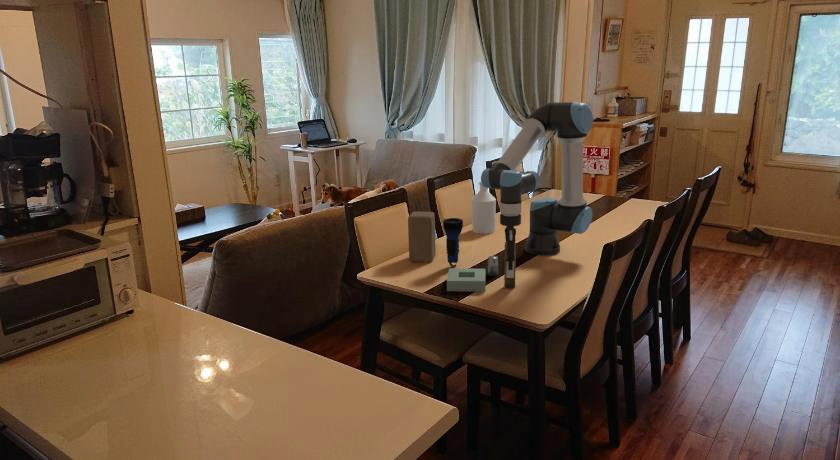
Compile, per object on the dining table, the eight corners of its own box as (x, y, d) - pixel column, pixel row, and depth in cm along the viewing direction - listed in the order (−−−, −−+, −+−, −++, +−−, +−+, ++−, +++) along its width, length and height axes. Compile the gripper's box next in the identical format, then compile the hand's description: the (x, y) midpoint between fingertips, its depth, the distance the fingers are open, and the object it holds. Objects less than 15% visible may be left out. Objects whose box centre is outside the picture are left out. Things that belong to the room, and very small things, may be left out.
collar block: (485, 278, 230) (485, 268, 229) (485, 291, 216) (485, 281, 215) (449, 278, 231) (449, 268, 230) (447, 291, 218) (446, 280, 217)
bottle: (479, 226, 305) (479, 178, 299) (500, 229, 298) (500, 180, 292) (467, 232, 296) (467, 182, 289) (488, 235, 289) (488, 184, 283)
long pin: (514, 285, 222) (515, 241, 217) (515, 288, 218) (516, 244, 214) (504, 285, 222) (504, 241, 218) (504, 288, 219) (504, 244, 214)
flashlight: (460, 271, 239) (459, 223, 234) (441, 269, 242) (440, 222, 236) (465, 265, 246) (465, 218, 241) (447, 263, 249) (446, 217, 244)
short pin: (498, 272, 236) (498, 255, 234) (498, 276, 232) (498, 259, 230) (488, 272, 236) (488, 255, 235) (488, 275, 233) (488, 258, 231)
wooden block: (431, 263, 250) (430, 217, 245) (408, 262, 252) (407, 216, 247) (436, 255, 260) (435, 211, 254) (413, 255, 262) (412, 211, 256)
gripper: (499, 208, 222) (499, 267, 228) (500, 219, 205) (500, 283, 211) (519, 208, 221) (518, 267, 227) (522, 219, 204) (521, 283, 210)
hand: (509, 274), depth 219 cm, fingers open, 5 cm apart
